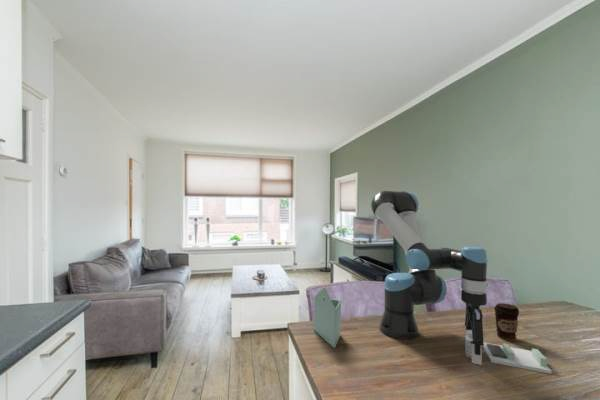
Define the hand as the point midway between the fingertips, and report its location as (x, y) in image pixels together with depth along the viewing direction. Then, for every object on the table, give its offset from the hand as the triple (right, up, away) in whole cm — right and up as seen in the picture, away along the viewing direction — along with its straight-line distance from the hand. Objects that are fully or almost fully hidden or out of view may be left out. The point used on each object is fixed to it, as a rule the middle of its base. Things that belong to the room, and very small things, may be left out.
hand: (473, 356), depth 95 cm
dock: (+14, -1, 0) cm, 14 cm away
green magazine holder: (-48, +1, +12) cm, 50 cm away
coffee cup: (+23, -2, +15) cm, 28 cm away
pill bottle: (0, 0, 0) cm, 0 cm away
